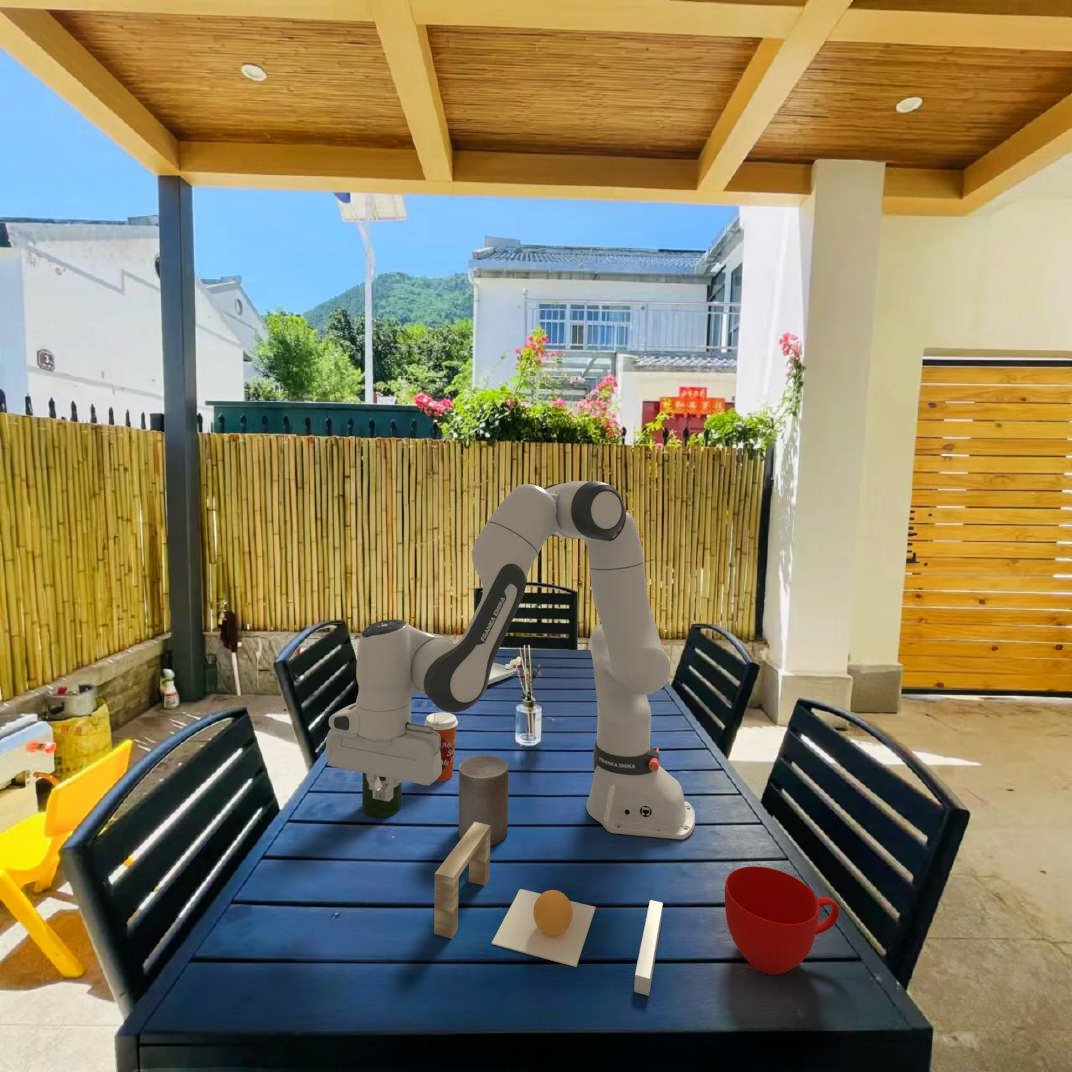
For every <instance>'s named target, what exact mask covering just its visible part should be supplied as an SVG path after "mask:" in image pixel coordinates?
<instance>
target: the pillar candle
mask: <svg viewBox="0 0 1072 1072" xmlns="http://www.w3.org/2000/svg"><path fill="white" fill-rule="evenodd" d="M457 768H458V837H459V839H460V840H461V839H462V838H463V836H464V835H465V834H466V832H467V831H468V830H469V828H470V827H471V826H472V825H473V823H474V822H477V823H482V824H487V825H491V832H490V847H491V846H494V845H497V844H499V843H500V842H502V841H503V840H504V839H505V838H506V837H507V836H508V834H509V833H508V832H509V831H508V828H509V827H508V824H509V816H508V815H509V763H508V762H507V761H506V760H505V759H503V758H501V757H498V756H496V755H489V754H488V755H487V754H483V755H482V754H481V755H474V756H470V757H468V758H466V759H463V761H461V762H460V763H459V764H458V767H457Z"/></svg>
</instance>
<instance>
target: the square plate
mask: <svg viewBox="0 0 1072 1072" xmlns="http://www.w3.org/2000/svg"><path fill="white" fill-rule="evenodd" d="M511 668H512V669H509V670H506V669H505V665H503V664H500V663H497V662H496V663H495V662H493V665H492V668H491V673H490V677H489V682H488V685H487V686H489V685H491V684H494V683H497V682H500V681H502V680H504V679H507V678H509V677H511V676H513V675H514V674H515V673H517V671H518V669H517V668H515V667H511ZM516 669H517V670H516Z"/></svg>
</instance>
